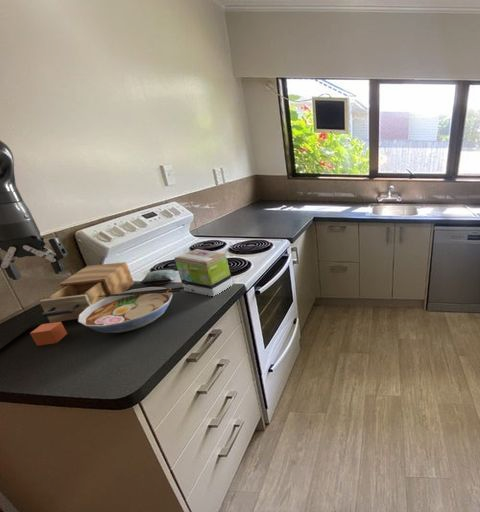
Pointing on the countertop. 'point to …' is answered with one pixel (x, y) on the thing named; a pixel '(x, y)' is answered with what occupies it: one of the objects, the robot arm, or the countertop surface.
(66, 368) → the countertop surface
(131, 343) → the countertop surface
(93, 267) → the cabinet
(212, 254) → the tea box
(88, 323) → the ramen bowl
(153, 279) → the packaged food
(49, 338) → the block
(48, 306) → the drawer
